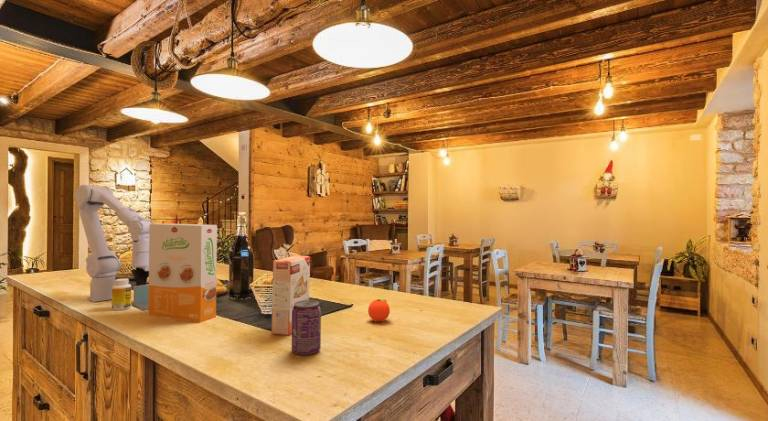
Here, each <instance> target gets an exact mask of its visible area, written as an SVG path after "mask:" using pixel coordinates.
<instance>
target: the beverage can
mask: <svg viewBox="0 0 768 421" xmlns="http://www.w3.org/2000/svg"><path fill="white" fill-rule="evenodd" d="M321 324H322V310H321V307H320V302H319V301H317V300H310V299H309V300H304V301H298V302H295V303H294V308H293V310H292V334H291V351H292V353H293V352H294V353H295V354H296V355H297V354H298V355H300V356H307V355H313V354H315V353H316V352H318V351H320V349H321V346H322V344H321V343H322V337H321V335H322V332H321V331H322V328H321V327H322V325H321Z"/></svg>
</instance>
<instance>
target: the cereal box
mask: <svg viewBox="0 0 768 421" xmlns="http://www.w3.org/2000/svg"><path fill="white" fill-rule="evenodd" d="M217 239H218V225H217V224H199V223H198V224H197V223H196V224H192V223H191V224H189V223H153V224H150V225H149V276H148V284H149V310H148V316H155V317H161V318H168V319H175V320H180V321H187V322H195V323H203V322H206V321H209V320H212V319H215V318H217V274H218V273H217V272H218V271H217V265H218V263H217V262H218V261H217V260H218V257H217V256H218V251H217V250H218V240H217Z"/></svg>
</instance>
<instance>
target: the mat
mask: <svg viewBox="0 0 768 421" xmlns="http://www.w3.org/2000/svg"><path fill="white" fill-rule="evenodd" d="M131 306H133V307H135V308H137V309H138V310H141V311H149V302H145V303H138V304H132V303H131Z"/></svg>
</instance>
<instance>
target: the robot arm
mask: <svg viewBox="0 0 768 421" xmlns="http://www.w3.org/2000/svg"><path fill="white" fill-rule="evenodd" d="M74 197H75V201H76V204H77V206H78V213H79V216H80V220H81V224H82V226H83V227H82V228H83V231H84V233H85V237H86V240H87V243H88V247H89V250H90V254H89V255H88V256H87V257H86V259H85V262H86V267H85V269H86V273H87V274H88V275H89V278H91V279H90V282H89V283H90V290H89V294H90V295H89V296H87V297H86V299H88V300H90V301H91V302H93V303H95V302H104V301H110V300H111V301H112V286H114V285H115V280H116V275H118V272H119V271H120V269H121V267H122V265H121V261H120V259H119V258H118V256H117V255H116V252H114V251H112V250H111V249H109V246H108V243H107V240H106V237H105V234H104V230H103V227H102V224H101V220H100V217H99V213H98V211H99V210H100V209H102V208H103V207H104V206H107V207H108V208H110V209H111V210H112V211H113V212H114V213H116V214H117V215H116V216H117V217H116V218H117V219H118V220H119V221H120V222H121V223H123V224H124V225H125V226H126V227H127V228H128V229H127V230H128V233H129V234H130V239H131V241H132V242H131V244H132V247H131V249H132V252H131V255H132V256H131V258H132V259H131V268H135V269H131V270H130V272H131V274H132V275H133V277H134V280H135V286H140V285H147V282H148V279H149V225H150V224H154V222H153V221H152V220H151V219H146V218H144V217H143V215H142V216H141V215H140V214H139V213H137V211H136V209H135V208H133V207H130V206H129V207H126V206H125V205H124V204H123V203H122V202H121V201H120V200H119V199H118V198H117V197H116V196H115V195H114V191H113V190H112V189H110V188H109V186H105V185H101V186H100V185H88V184H81V185H79V186H78V187H77V189H76V191H75V192H74Z"/></svg>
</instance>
